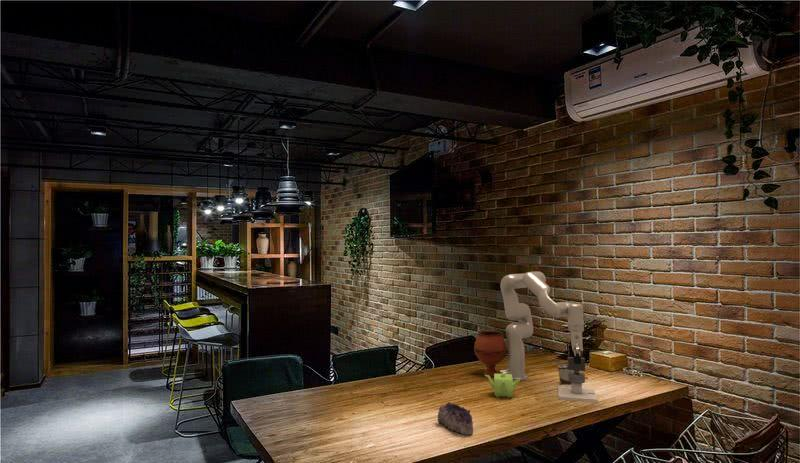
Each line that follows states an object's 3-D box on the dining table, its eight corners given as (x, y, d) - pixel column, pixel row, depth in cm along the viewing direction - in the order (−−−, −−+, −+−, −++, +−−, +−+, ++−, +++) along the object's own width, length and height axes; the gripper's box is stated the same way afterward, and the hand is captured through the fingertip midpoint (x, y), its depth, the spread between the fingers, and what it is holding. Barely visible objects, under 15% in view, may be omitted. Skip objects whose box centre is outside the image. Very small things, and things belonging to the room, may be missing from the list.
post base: (558, 399, 230) (558, 385, 230) (557, 388, 247) (557, 375, 247) (597, 402, 224) (597, 388, 224) (594, 391, 241) (593, 378, 241)
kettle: (504, 402, 226) (503, 379, 226) (483, 394, 238) (482, 372, 238) (524, 396, 235) (523, 374, 235) (502, 389, 246) (502, 368, 247)
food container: (577, 382, 259) (577, 364, 259) (580, 385, 253) (580, 366, 253) (555, 381, 260) (554, 363, 260) (557, 384, 254) (557, 366, 254)
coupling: (568, 382, 233) (568, 359, 233) (568, 378, 241) (567, 355, 241) (588, 384, 230) (588, 360, 231) (587, 379, 238) (586, 356, 238)
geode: (484, 433, 189) (482, 409, 188) (461, 442, 184) (458, 418, 183) (456, 415, 207) (454, 393, 206) (434, 423, 202) (432, 401, 201)
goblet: (468, 372, 280) (467, 331, 280) (494, 368, 288) (493, 328, 289) (486, 380, 262) (486, 336, 263) (514, 376, 270) (513, 333, 271)
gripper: (585, 330, 227) (586, 366, 226) (582, 325, 244) (583, 358, 243) (568, 330, 229) (570, 365, 228) (567, 325, 246) (568, 357, 245)
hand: (577, 361), depth 236 cm, fingers open, 9 cm apart
